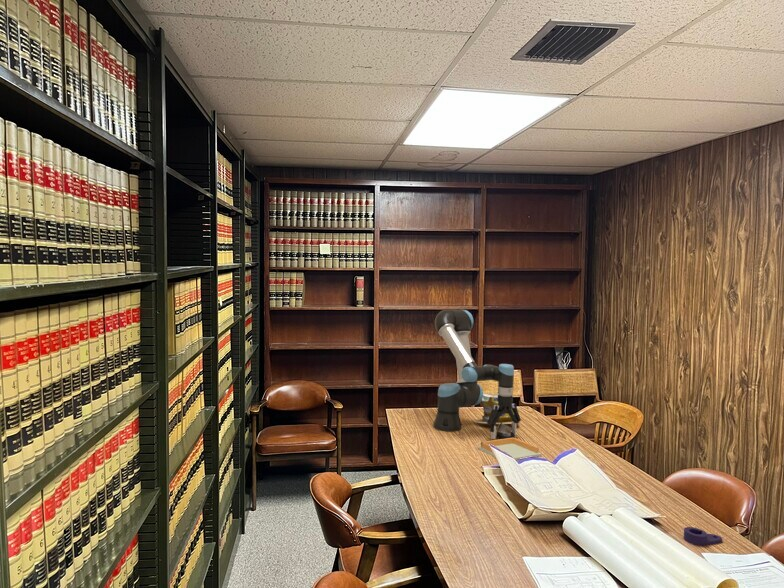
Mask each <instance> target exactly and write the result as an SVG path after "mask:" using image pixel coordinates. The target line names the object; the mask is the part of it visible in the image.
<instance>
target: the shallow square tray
mask: <svg viewBox="0 0 784 588" xmlns="http://www.w3.org/2000/svg"><path fill="white" fill-rule="evenodd" d="M489 444H492V445H494V446H496V447H497V448H499V449H501V451H503V452H504V451H505V453H508V454H509V455H511V456H512V457H513V458H515V459H520V458H523V457H529V456H541V457H542V453H540V452H539V450H540V449H539V447H538V446H535V445H533V444H531V443H528V442H525V441H523V440H521V439H519V438H516V437H515V438H514V437H513V438H506V439H494V440H493V439H492V440H486V441H481V442H480V445H478V446H477V450H479V451H482V452H483V453H486V454H487V455H489V456H491V457H494V455H493V452H492V450H491V448H490V446H489Z"/></svg>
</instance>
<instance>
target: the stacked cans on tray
mask: <svg viewBox="0 0 784 588" xmlns="http://www.w3.org/2000/svg"><path fill="white" fill-rule="evenodd" d="M498 395H499V394H496V395H495V394H494V395H493V394H487V393H483V398H482V400H481V402H480V403H479V404H480V406H481V407H482V408H483V409H482V410H483V415H482V418H479V419H475V420H474V422H475V423H479V424H487V421H488V419H489V416H490V414H491V412H492V408H493V405H496V406H498ZM511 410H512V408H511ZM512 412H513V410H512ZM513 414H514V413H513ZM501 422H502V424H504V425H509V424H510V425H512V422H513V420H512V419H511V417H510V416H509V414H507V413H505V414H502V415H501V416H500V418H499V419H498V421H497V422H496V424H495V426H496V428H497V427H498V426H499V425H500V423H501ZM520 422H521V421H519V423H520ZM487 425H488V424H487Z"/></svg>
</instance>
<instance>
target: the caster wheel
mask: <svg viewBox="0 0 784 588" xmlns="http://www.w3.org/2000/svg"><path fill="white" fill-rule="evenodd" d="M511 430H512V427H511V426H509V425H508V424H502V422H501V423H500V424H498V427H497V426H496V438H497V440H499V439H506V438H513V437H514V438H516V436H515V435H514V433H513V432H511ZM496 438H495V439H496Z"/></svg>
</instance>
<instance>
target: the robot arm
mask: <svg viewBox="0 0 784 588" xmlns="http://www.w3.org/2000/svg"><path fill="white" fill-rule="evenodd" d="M434 326H435V330H436V331H437V334H438V335H439V336H440V337H442V338H443V340H444V342H445V343H446V345H447V346H448V348H449V350H450V352H451V353H452V354H453V356H454V358H455V361H456V363H455V364H456V369H457V371H456V372H457V377H458V379H457V381H456V382H447V383H443V384H440V385H439V387H438V389H437V411H436V415H435V419H434V421H433V428H434V429H436V430H438V431H442V432H443V431H444V432H458V431H461V430H462V429H463V427H462V426H463V424H462V421H461V417H460V408H467V407H475V406H478V405H479V404H480V402H481V400H482V398H483V394H484V390H483V387H482V386H481V385H480V384H479V383H478V382H484V381H485V382H486V381H495V382H498V383H497V384H498V385H497V395H498V406H496V405H493V408H492V412H491V414H490V416H489V419H488V421H487V425H489V427H490V428H489V429H490V438H491V439H492V440H493V439H494V440H496V435H497V425H496V422H497V421H498V419H499V418H500V416H501V415H502V414H505V413H507V414H509V416H510V417H511V419H512V420H513V422H512V423H511V432H513V433H514V435H515V437H516V436H517V429H518V424H519V423H520V422H521V420H522V419H521V416H520V414H519V411H518V406H517V404H516V403H513V401H514V400H513V399H514V396H513V395H514V380H515V379H514V378H515V366H514V365H513V364H509V363H500V364H499V365H498V366H496V365H493V364H484V365H478V364H477V363H476V362H475V360H474V358H473V357H472V353H471V345H470V339H469V335H470V333H471V330H472V329H473V326H474V317H473V315H472V313H471V312H469V310H466V309H442V310H441V311H439V312H438V314H437V313H436V317H435V319H434ZM511 408H512V410H513V412H512V410H511ZM513 413H514V414H513ZM519 421H520V422H519Z"/></svg>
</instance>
